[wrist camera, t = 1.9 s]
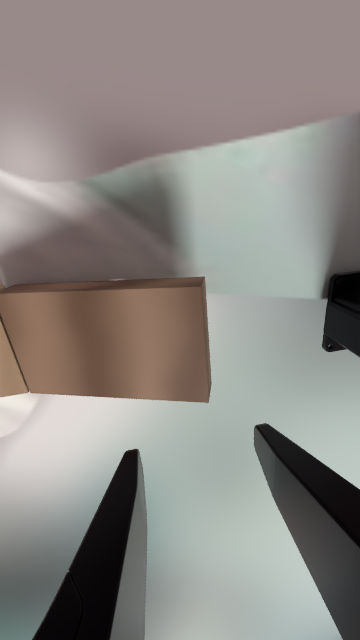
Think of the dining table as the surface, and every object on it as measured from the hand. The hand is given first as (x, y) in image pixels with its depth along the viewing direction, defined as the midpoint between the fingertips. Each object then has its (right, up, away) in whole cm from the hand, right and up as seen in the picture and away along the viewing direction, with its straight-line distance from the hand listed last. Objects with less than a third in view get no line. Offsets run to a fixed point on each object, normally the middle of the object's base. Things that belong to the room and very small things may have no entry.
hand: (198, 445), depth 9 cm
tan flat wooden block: (-5, +3, +9) cm, 10 cm away
